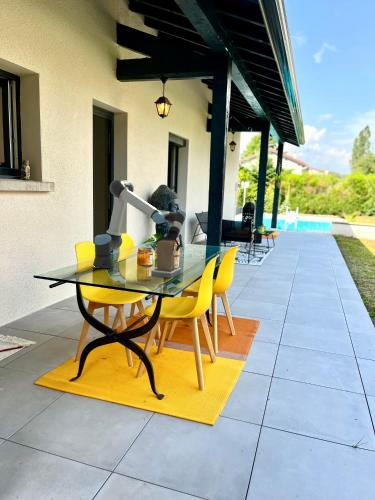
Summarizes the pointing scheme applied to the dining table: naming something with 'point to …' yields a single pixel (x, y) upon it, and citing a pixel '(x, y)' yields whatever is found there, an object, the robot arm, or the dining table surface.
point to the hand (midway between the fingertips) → (165, 253)
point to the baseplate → (166, 273)
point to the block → (165, 255)
